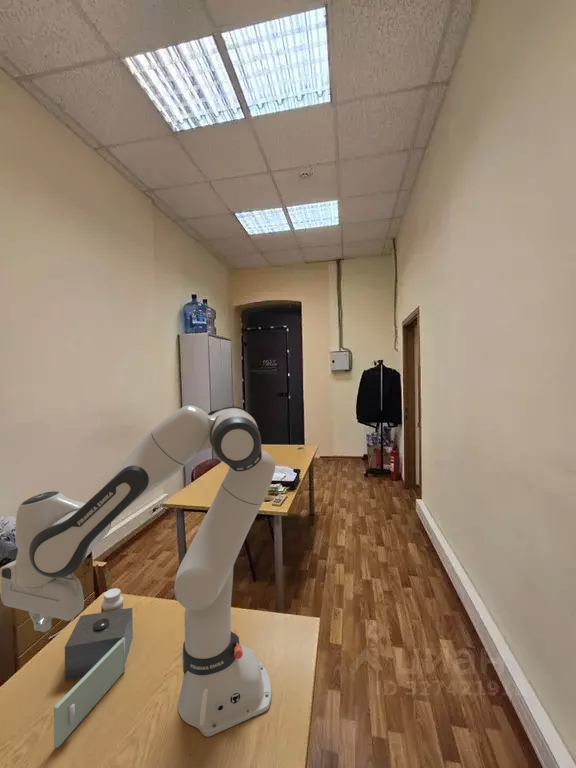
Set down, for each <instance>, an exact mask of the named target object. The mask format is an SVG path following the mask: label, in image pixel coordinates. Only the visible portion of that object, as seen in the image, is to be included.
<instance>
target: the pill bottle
mask: <svg viewBox="0 0 576 768" xmlns="http://www.w3.org/2000/svg"><path fill="white" fill-rule="evenodd" d="M121 594H122V593H121V589H120V588H116V587H115V588H110V589H108V590H107V591H105V592H104V594H103V601H102V602H101V605H100V611H101V612H108V611H114V610H120V609H124V598H123V595H121ZM101 612H100V613H101Z"/></svg>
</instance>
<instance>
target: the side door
mask: <svg viewBox="0 0 576 768" xmlns="http://www.w3.org/2000/svg"><path fill="white" fill-rule="evenodd" d="M125 671H126V664H125V638H124V637H123V638H121V640H119V641H118V642H117V643H116V644H115V645H114V646H113V647H112V648H111V649H110V650H109V651H108V652H107V653H106V655H105V656H104V657H103V658H102V659H101V660H100V661H99V662H98V663H97V664H96V665H95V666H94V667H93V668H92V669H91V670H90V671H89V672H88V673H87V674H86V675H85V676H84V677H83V678H80V679H79V681H78V682H77V683H76V684H75V685H74V686H73V687H72V688H71V689H70V690H69V691H68V692H67V693H66V694H65V695H64V696H63V697H62V698H61V699H60V700H59V701H58V702H57V703H56V704H54V706H53V746H54V747H55V748H59V747H60V746H61V745H62V744H63V743H64V742H65V740H66V739H67V738H68V737H69V736H70V734H71V733H72V732H73V731H74V730H75V729H76V728H77V727H78V725H80V723H81V722H82V721H83V719H84V718H85V717H86V716H87V715H88V714H89V713H90V712H91V711H92V710H93V708H94V707H95V706H96V705H97V704H98V702H99V701H100V700H101V699H103V698H102V697H103V696H104V695H105V694H106V693H107V691H109V690H110V688H112V686H113V685H114V684H115V683H116V682H117V680H118V679H119V678H120V677H121V676H122V674H124V672H125Z"/></svg>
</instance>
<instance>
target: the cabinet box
mask: <svg viewBox="0 0 576 768" xmlns="http://www.w3.org/2000/svg"><path fill="white" fill-rule="evenodd" d="M133 621H134V619H133V607H128V608H123V609H120V610H114V611H108V612H95V613H89V614H82V615H80V616H79V619H78V620H77V622H76V624H75V626H74V628H73V629H72V631H71V634H70V635H69V638H68V640H67V642H66V644H65V646H64V682H69V681H74V680H81V679H82V678H83V677H84V676H85V675H86V674H87V673H88V672H89V671H90V670H91V669H92V668H93V667H94V666H95V665H96V664H97V663H98V662H99V661H100V660H101V659H102V658H103V657H104V656H105V655H106V653H107V652H108V651H109V650H110V649H111V648H112V647H113V646H114V645H115V644H116V643H117V642H118V641H119V640H121V638H123V637H124V638H125V665H126V662H127V659H128V656H129V653H130V652H129V651H130V648H131V645H132V642H133V641H132V640H133V637H134V636H133V633H134V632H133V630H134V629H133V627H134V626H133V624H134V623H133Z"/></svg>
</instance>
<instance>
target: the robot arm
mask: <svg viewBox="0 0 576 768" xmlns="http://www.w3.org/2000/svg"><path fill="white" fill-rule="evenodd" d="M208 449H212V450H213V451H214V453H215V455H216V456H217V458H219V460H221V461H222V462H223V463H224V464H226V465H227V466H228V467H229V468H228V471H227V473H226V475H225V477H224V479H223V480H222V482H221V484H220V486H219V489H218V490H217V492H216V494H215V496H214V498H213V500H212V502H211V504H210V507H209V508H208V511H207V512H206V514H205V516H204V518H203V520H202V522H201V524H200V526H199V527H198V530H197V531H196V534H195V536H194V538H193V539H192V541H191V543H190V545H189V546H188V548H187V551H186V553H185V554H184V557H183V559H182V560H181V563H180V565H179V566H178V569H177V572H176V576H175V582H174V586H173V589H174V590H173V591H174V592H173V593H174V597H175V599H176V600H177V602H178V604H180V606H182V607H183V608H184V642H183V645H182V652H181V653H182V655H181V656H182V657H181V658H182V660H181V661H182V664H181V666H182V670H183V671H182V672H183V675H182V677H183V678H182V683H181V684H182V685H181V690H180V694H179V697H178V700H177V701H178V702H177V711H178V714H179V716H180V718H181V719H182V720H183V722H185V723H186V724H187V725H189V726H192V727H195V728H197V729H198V730H199V731H200V733H201V734H202V735H203V736H204V737H207V738H209V737H211V736H214V735H216V734H218V733H221V732H222V731H225V730H227V729H230V728H232V727H234V726H237V725H239V724H240V723H243V722H246V721H247V720H249V719H251V717H252V718H254V717H256V716H258V715H260V714H263V713H265V712H267V711H268V710H269V708H270V706H271V703H272V684H271V679H270V676H269V672H268V670H267V668H266V667H265V666H264V664H263V663H262V662H261V661H259V658H258V656H257V654H256V653H255V652H254V650H253V649H252V648H249V647H246V646H245V645H242V644H241V643H240V637H239V636H238V632H237V629H236V628H234V632H233V631H232V613H231V612H232V593H233V581H234V566H235V563H236V560H237V558H238V556H239V554H240V551H241V549H242V546H243V545H244V542H245V540H246V538H247V535H248V534H249V531H250V529H251V528H252V524H253V523H254V521H255V520H256V518H257V515H258V513H259V512H260V509H261V508H262V505H263V503H264V501H265V499H266V496H267V494H268V492H269V491H270V487H271V485H272V482H273V477H274V475H275V471H276V463H275V460H274V458H273V457H272V456H271V455H270V453H268V452H267V451H266V450H263V449H262V438H261V432H260V430H259V426H258V425H257V422H256V420H255V419H254V417H253V416H252V415H251V414H250V413H249V412H248V411H247V410H246V409H244V408H242V407H239V406H226V407H223V408H220V409H215V410H212V411H209V412H208V413H207V412H205V411H204V410H203V409H202V408H200V407H198V406H195V405H190V404H189V405H185V406H183V407H181V408H179V409H178V410H176V411H174V412H173V413H171V414H170V415H169V416H168V417H166V418H165V419H163V420H162V421H160V423H158V425H156V426H155V427H154V428H153V429H152V430H150V431H149V432H148V433H147V434H146V436H144V438H142V440H141V441H140V442H139V443H138V444H137V446H136V447H135V448H134V449H133V450H132V451H131V453H130V454H129V456H127V458H126V460H125V461H124V462H123V463H122V465H120V467H119V469H117V471H116V472H115V474H114V475H113V476H112V477H111V478H110V480H109V481H108V482H106V484H105V485H104V486H103V487H102V488H101V489H100V490H99V491H97V492H96V494H94V495H93V496H92V497H90V498H89V500H88V501H87V502H83V501H78V500H74V499H71V498H69V497H68V496H65V494H63V493H62V492H60V491H53V490H52V491H46V492H43V493H39V494H36V495H34V496H32V497H30V498H28V499H26V500H24V501H23V502H21V504H19V506H18V509H17V512H16V517H15V527H14V528H15V531H14V533H15V534H14V535H15V536H14V538H15V539H14V540H15V541H14V542H15V545H16V546H17V554H16V557H15V560H12V561H11V562H8V563H7V564H5V565H3V566H1V567H0V578H1V579H0V600H1V603H2V605H4V606H6V607H10V608H12V609H13V608H14V609H17V610H21V611H22V610H23V611H26V612H28V615H29V617H30V619H31V621H32V623H33V630H34V631H38V632H41V633H47V632H48V631H50V630H51V628H52V620H53V619H57V620H58V619H59V620H62V621H66V622H69V621H71V620H73V619H74V618H76V617H77V616H78V615H79V614H80V613H82V612H83V610H84V607H85V601H84V593H83V586H82V582H81V580H80V579H79V578H78V577H77V576H75V571H76V570H77V569H78V568H79V567H81V564H82V563H83V562H84V561H85V559H86V558H87V557H88V556H89V554H91V553H92V552H93V551H94V549H95V548H96V547H97V546H98V545H99V544H100V543H101V542H102V540H103V539H104V538H105V537H106V536H107V534H108V533H109V532H110V530H111V525H112V522H113V521H114V520H116V518H117V517H119V516H120V515H121V513H123V512H124V511H125V510H126V509H127V508H129V506H131V505H132V504H134V503H135V502H136V501H137V500H139V499H141V498H142V497H143V496H145V495H147V494H148V493H149V492H151V491H152V490H154V489H156V488H158V486H160V485H161V484H163V483H165V482H167V480H170V478H172V477H173V476H175V475H176V474H177V473H179V471H180V470H182V469H183V468H184V467H185V466H186V465H188V463H189V462H191V461H192V459H193V458H194V457H195V456H196V455H197V454H199V453H200V452H203V451H205V450H208ZM253 716H254V717H253Z"/></svg>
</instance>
